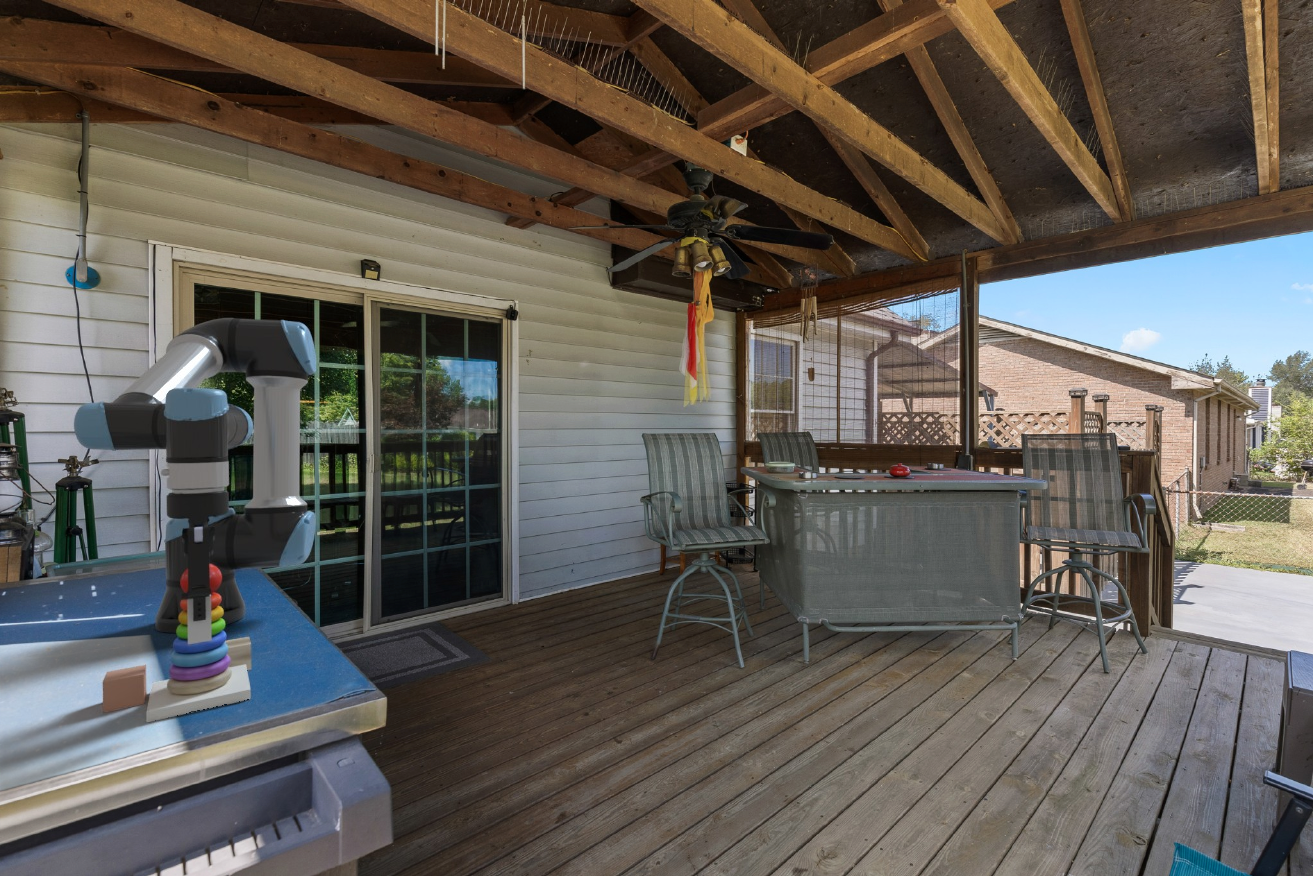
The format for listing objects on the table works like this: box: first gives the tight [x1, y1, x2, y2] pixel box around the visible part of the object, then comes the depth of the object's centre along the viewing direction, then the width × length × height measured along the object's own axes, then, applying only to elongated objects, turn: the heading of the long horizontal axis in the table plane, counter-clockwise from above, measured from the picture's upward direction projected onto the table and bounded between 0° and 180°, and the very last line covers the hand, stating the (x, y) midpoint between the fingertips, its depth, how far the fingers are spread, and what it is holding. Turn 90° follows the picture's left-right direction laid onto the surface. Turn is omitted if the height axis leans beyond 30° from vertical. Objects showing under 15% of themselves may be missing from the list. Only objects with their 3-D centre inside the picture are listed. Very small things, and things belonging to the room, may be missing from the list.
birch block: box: [224, 636, 252, 671], centre depth 102 cm, size 4×4×4 cm
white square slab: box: [146, 664, 252, 723], centre depth 92 cm, size 12×12×2 cm
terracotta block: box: [102, 664, 147, 713], centre depth 90 cm, size 4×4×4 cm
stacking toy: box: [167, 564, 232, 695], centre depth 92 cm, size 8×8×19 cm
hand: (200, 629), depth 92 cm, fingers open, 13 cm apart
